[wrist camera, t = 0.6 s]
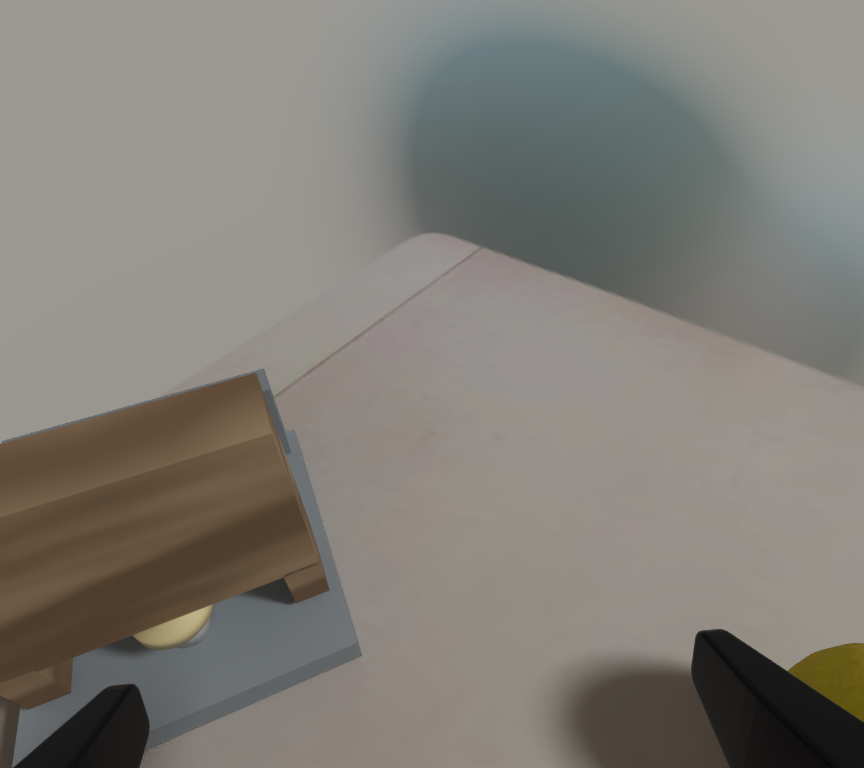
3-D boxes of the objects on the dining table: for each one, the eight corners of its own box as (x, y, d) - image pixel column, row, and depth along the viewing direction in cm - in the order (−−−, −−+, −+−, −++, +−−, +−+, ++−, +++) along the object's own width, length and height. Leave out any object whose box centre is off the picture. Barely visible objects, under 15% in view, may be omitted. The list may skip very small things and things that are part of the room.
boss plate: (362, 655, 23) (339, 588, 19) (31, 799, 20) (-93, 760, 15) (299, 445, 32) (273, 365, 27) (63, 521, 29) (-11, 444, 24)
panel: (329, 590, 23) (271, 433, 16) (28, 710, 20) (-216, 584, 13) (314, 534, 25) (256, 372, 18) (37, 636, 22) (-168, 490, 15)
